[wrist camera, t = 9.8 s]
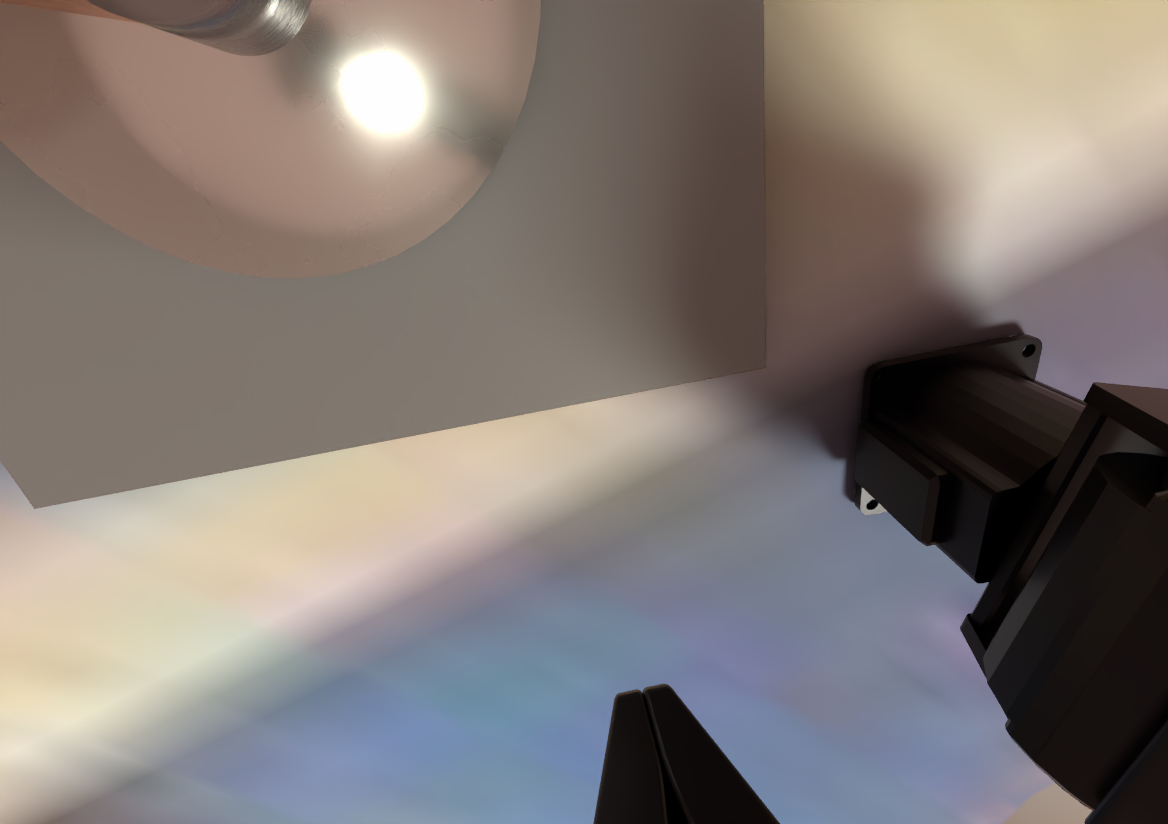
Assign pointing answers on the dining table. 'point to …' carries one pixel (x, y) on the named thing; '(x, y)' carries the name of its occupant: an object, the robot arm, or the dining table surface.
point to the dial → (266, 119)
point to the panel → (417, 281)
